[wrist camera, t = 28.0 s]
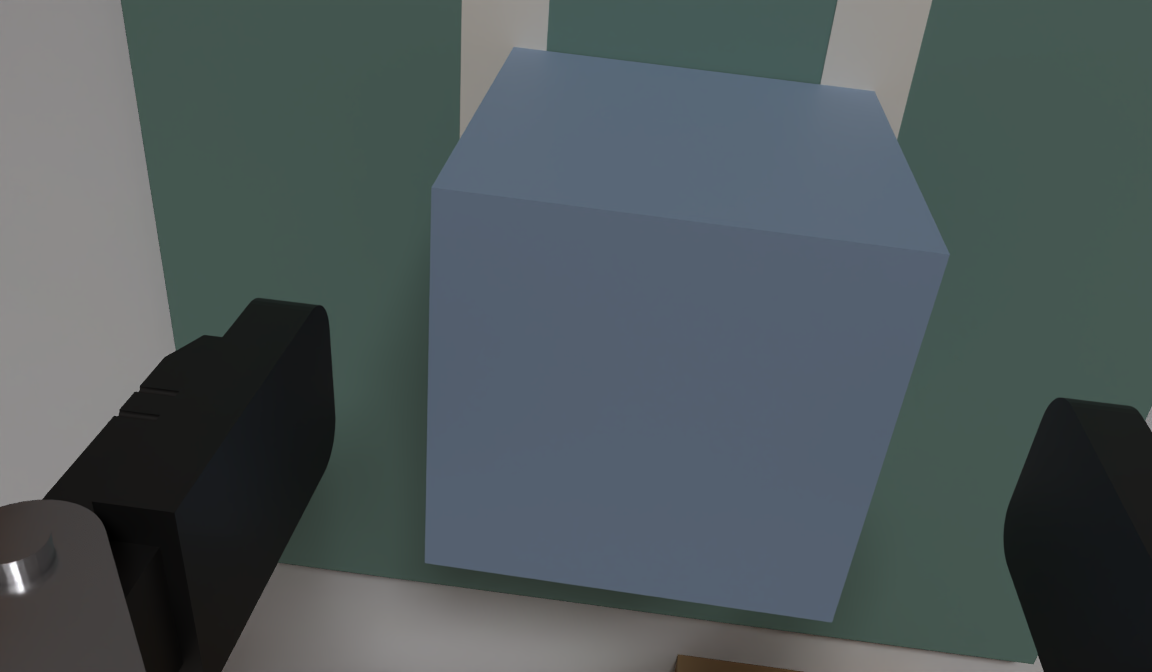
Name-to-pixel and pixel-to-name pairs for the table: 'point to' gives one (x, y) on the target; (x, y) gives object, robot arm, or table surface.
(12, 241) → the table surface
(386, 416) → the letter board
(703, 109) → the blue cube
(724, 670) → the block
